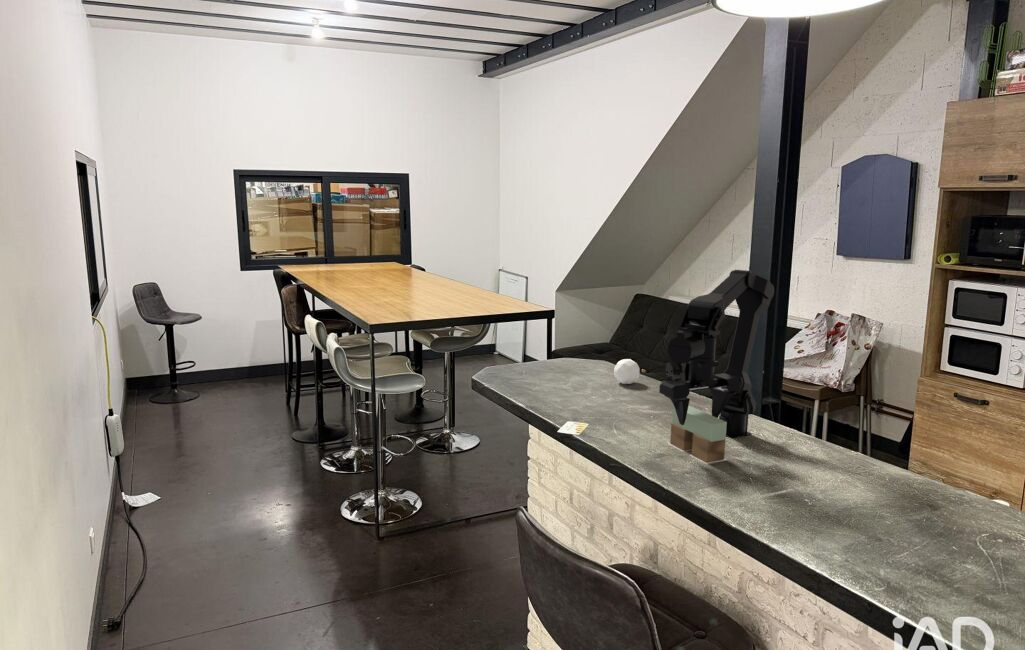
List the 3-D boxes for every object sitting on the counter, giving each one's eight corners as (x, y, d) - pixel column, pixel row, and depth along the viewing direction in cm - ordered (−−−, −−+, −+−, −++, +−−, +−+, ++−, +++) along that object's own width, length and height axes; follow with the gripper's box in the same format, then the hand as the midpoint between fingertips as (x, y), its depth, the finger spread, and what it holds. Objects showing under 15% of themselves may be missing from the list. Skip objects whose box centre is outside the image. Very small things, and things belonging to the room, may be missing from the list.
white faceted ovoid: (614, 376, 213) (601, 371, 225) (634, 390, 215) (621, 385, 226) (628, 355, 213) (615, 351, 225) (648, 370, 215) (634, 365, 227)
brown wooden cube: (687, 440, 167) (688, 420, 166) (700, 447, 162) (702, 427, 161) (670, 443, 165) (671, 423, 164) (683, 450, 160) (684, 430, 159)
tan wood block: (709, 452, 160) (710, 431, 159) (724, 459, 155) (725, 438, 154) (691, 455, 158) (692, 434, 157) (706, 462, 153) (707, 441, 152)
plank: (685, 420, 166) (686, 404, 165) (725, 439, 154) (726, 422, 153) (672, 422, 165) (673, 406, 164) (711, 441, 152) (712, 424, 151)
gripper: (711, 345, 167) (707, 407, 170) (646, 351, 159) (643, 416, 162) (744, 354, 157) (739, 420, 160) (676, 362, 149) (673, 431, 152)
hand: (698, 421), depth 159 cm, fingers open, 9 cm apart
